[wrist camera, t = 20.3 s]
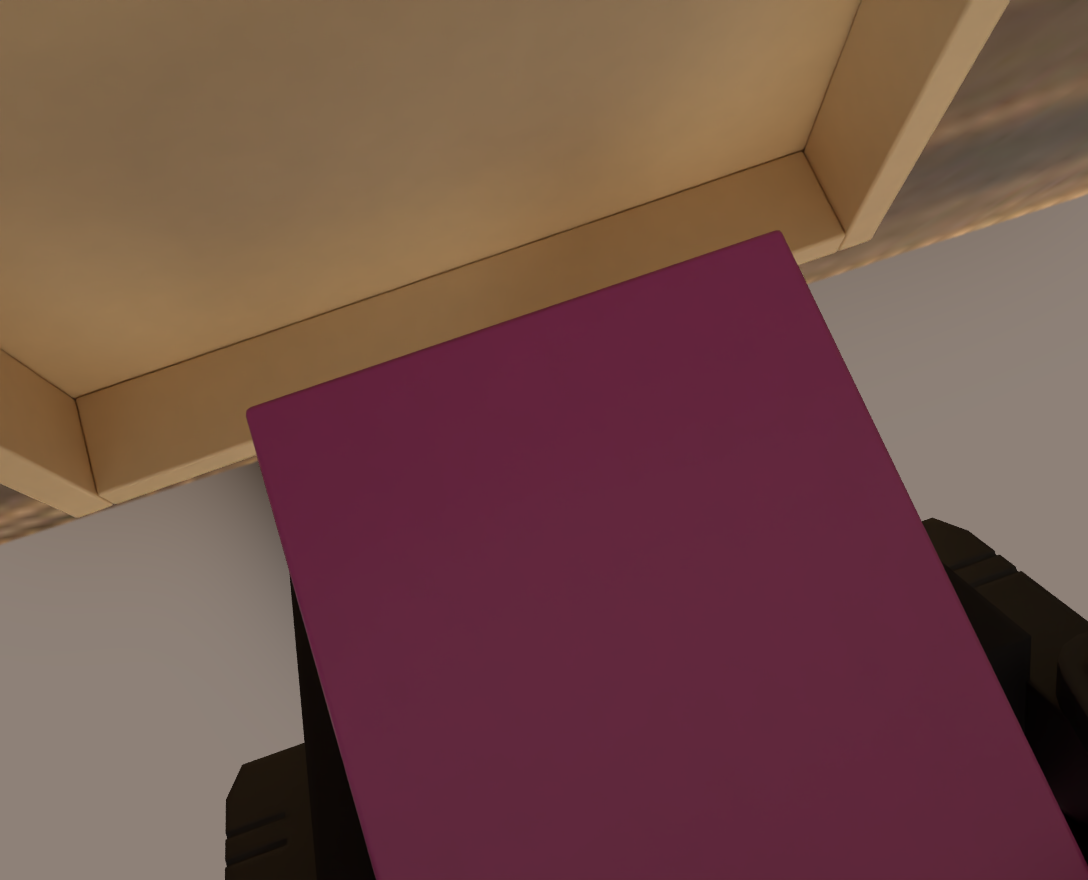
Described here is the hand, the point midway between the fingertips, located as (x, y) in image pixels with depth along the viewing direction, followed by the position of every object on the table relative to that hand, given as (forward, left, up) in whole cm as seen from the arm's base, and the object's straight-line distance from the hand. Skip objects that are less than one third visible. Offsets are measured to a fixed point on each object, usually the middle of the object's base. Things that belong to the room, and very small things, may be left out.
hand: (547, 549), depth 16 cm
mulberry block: (0, +4, -1) cm, 4 cm away
